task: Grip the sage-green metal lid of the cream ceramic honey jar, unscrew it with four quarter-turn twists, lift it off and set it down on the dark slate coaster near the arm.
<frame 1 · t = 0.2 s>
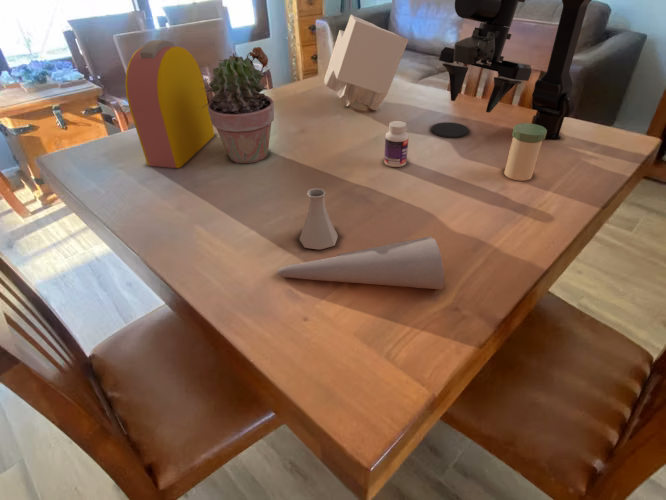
hand: (469, 106, 91), 15 cm above the table, tool pointing down, fingers open, 9 cm apart
lid: (529, 130, 91), point 10 cm above the table, screwed on, not yet turned
beige tilted block: (361, 105, 138), on the table
coaster: (449, 130, 119), on the table
pill bottle: (395, 163, 104), on the table
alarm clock: (183, 149, 113), on the table
flask: (318, 239, 80), on the table
potted plant: (245, 156, 109), on the table
grey long cone: (357, 286, 69), on the table
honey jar: (517, 174, 98), on the table
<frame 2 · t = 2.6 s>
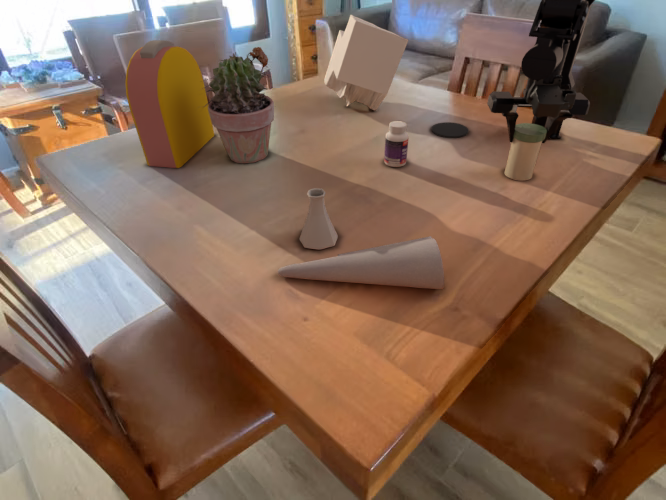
hand: (526, 142, 93), 8 cm above the table, tool pointing down, fingers closed on lid, 6 cm apart
lid: (529, 130, 91), point 10 cm above the table, screwed on, not yet turned, touching gripper
everything else where it was.
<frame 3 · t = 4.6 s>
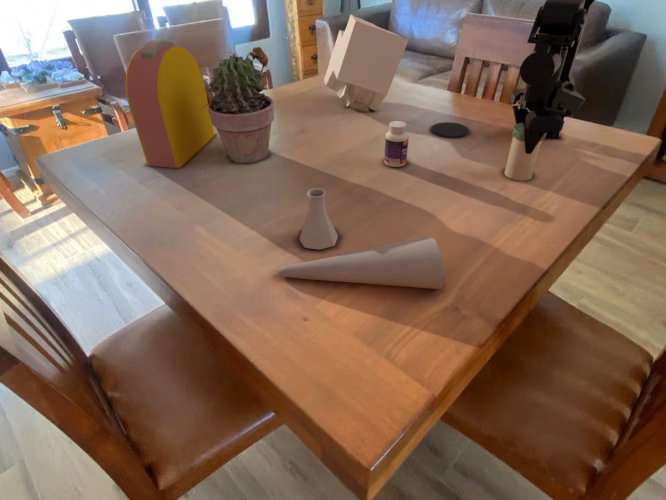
hand: (524, 147, 94), 7 cm above the table, tool pointing down, fingers closed on lid, 6 cm apart
lid: (529, 129, 91), point 11 cm above the table, turned 90° so far, risen 0.1 cm, still on its thread, touching gripper
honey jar: (517, 174, 98), on the table, touching gripper
everything else where it was.
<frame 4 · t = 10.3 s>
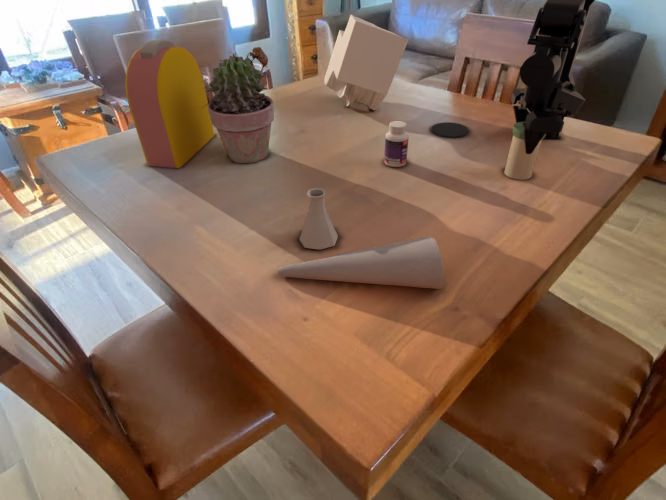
hand: (525, 147, 94), 6 cm above the table, tool pointing down, fingers closed on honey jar, lid, 6 cm apart
lid: (529, 128, 92), point 11 cm above the table, turned 176° so far, risen 0.2 cm, still on its thread, touching gripper
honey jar: (517, 173, 98), on the table, touching gripper
everything else where it was.
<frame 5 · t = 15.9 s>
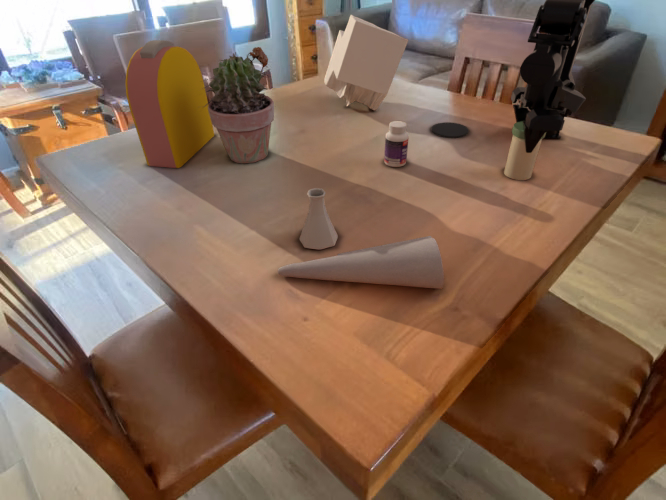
hand: (525, 146, 94), 7 cm above the table, tool pointing down, fingers closed on lid, 6 cm apart
lid: (529, 128, 91), point 11 cm above the table, turned 264° so far, risen 0.4 cm, still on its thread, touching gripper
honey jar: (517, 173, 98), on the table, touching gripper
everything else where it was.
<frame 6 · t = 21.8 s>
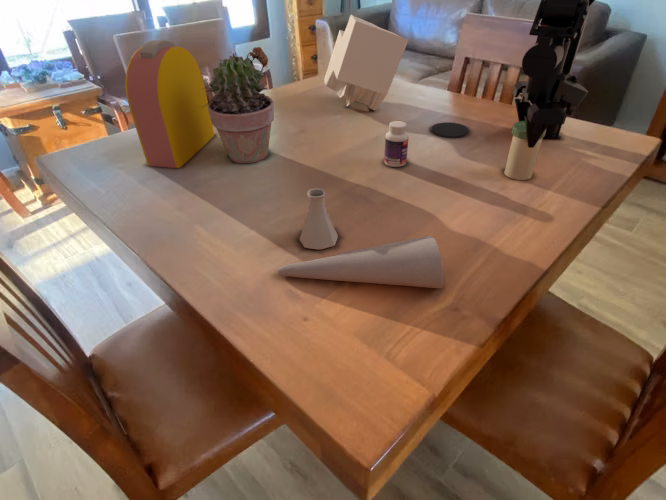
hand: (527, 140, 93), 8 cm above the table, tool pointing down, fingers closed on lid, 6 cm apart
lid: (529, 128, 91), point 11 cm above the table, off its thread, touching gripper, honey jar
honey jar: (517, 173, 98), on the table, touching gripper, lid
everything else where it was.
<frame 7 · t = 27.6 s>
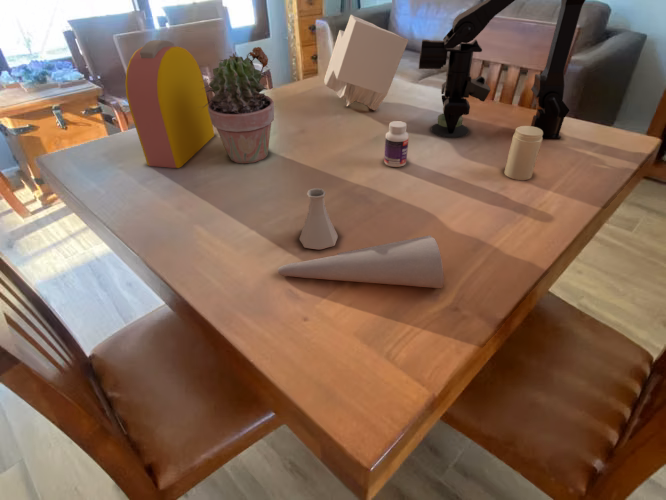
hand: (450, 128, 119), 1 cm above the table, tool pointing down, fingers closed on lid, 6 cm apart
lid: (450, 118, 117), point 4 cm above the table, off its thread, touching gripper
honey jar: (517, 173, 98), on the table
everything else where it was.
when the fingers open (1 cm above the table, at t = 34.4 s): lid drops 2 cm, resting on coaster.
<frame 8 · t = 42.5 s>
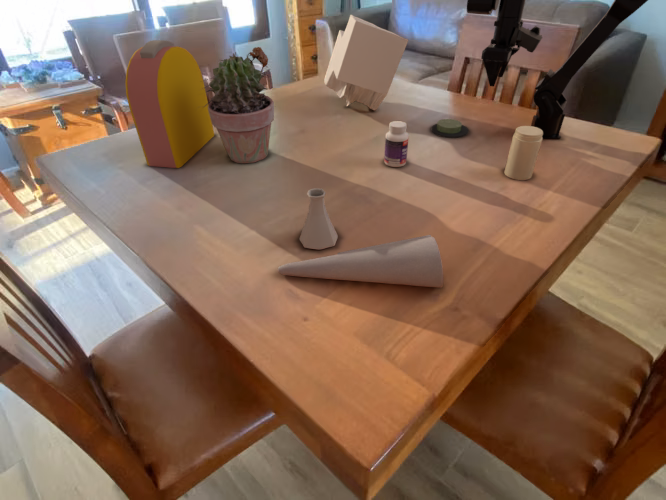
hand: (496, 81, 114), 12 cm above the table, tool pointing down, fingers open, 9 cm apart
lid: (449, 124, 118), point 2 cm above the table, off its thread, touching coaster
everything else where it was.
at the end: lid came off its thread; lid 0.4 cm off-centre on the coaster, point 1.8 cm above the coaster's base; the gripper is holding nothing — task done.
